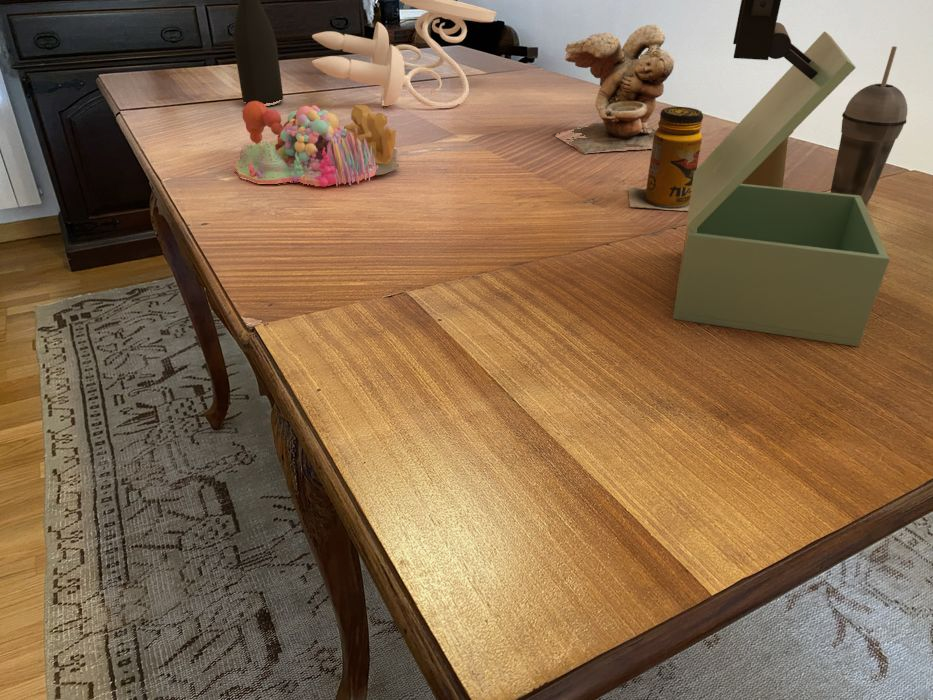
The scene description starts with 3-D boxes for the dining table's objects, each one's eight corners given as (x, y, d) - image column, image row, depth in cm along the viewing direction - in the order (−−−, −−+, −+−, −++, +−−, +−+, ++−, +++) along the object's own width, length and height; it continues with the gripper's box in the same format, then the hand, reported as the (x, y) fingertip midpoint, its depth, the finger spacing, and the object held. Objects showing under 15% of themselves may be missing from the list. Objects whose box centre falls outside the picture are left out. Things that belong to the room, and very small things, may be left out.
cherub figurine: (586, 157, 112) (598, 36, 103) (541, 129, 127) (548, 20, 117) (682, 147, 117) (702, 31, 108) (628, 121, 132) (641, 16, 122)
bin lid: (831, 36, 66) (783, -4, 66) (856, 67, 53) (797, 18, 53) (699, 177, 76) (657, 143, 76) (692, 232, 63) (642, 192, 63)
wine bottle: (250, 98, 146) (224, -70, 130) (288, 99, 146) (267, -70, 130) (238, 107, 139) (209, -69, 123) (277, 108, 139) (254, -69, 123)
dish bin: (836, 272, 77) (860, 195, 72) (858, 347, 64) (890, 258, 59) (682, 252, 81) (695, 178, 77) (672, 319, 68) (688, 234, 63)
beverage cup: (881, 203, 95) (933, 44, 85) (872, 219, 90) (927, 52, 80) (823, 193, 99) (867, 38, 88) (812, 208, 94) (857, 46, 83)
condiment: (695, 212, 92) (713, 118, 86) (629, 208, 93) (642, 115, 87) (689, 193, 98) (705, 104, 92) (627, 189, 99) (639, 101, 93)
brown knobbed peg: (728, 189, 100) (745, 109, 94) (750, 180, 103) (768, 102, 98) (768, 200, 96) (788, 117, 90) (790, 190, 100) (810, 110, 94)
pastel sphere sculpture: (376, 137, 121) (373, 81, 116) (422, 178, 103) (420, 114, 98) (226, 153, 113) (216, 93, 108) (247, 201, 95) (235, 131, 90)
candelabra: (476, -1, 169) (318, -36, 159) (522, 27, 132) (320, -17, 122) (459, 86, 179) (309, 58, 169) (497, 135, 142) (308, 102, 132)
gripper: (759, -267, 59) (707, 33, 71) (771, -335, 42) (701, 68, 55) (858, -272, 57) (787, 37, 69) (909, -345, 41) (805, 75, 53)
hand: (749, 50), depth 62 cm, fingers closed on bin lid, 7 cm apart
